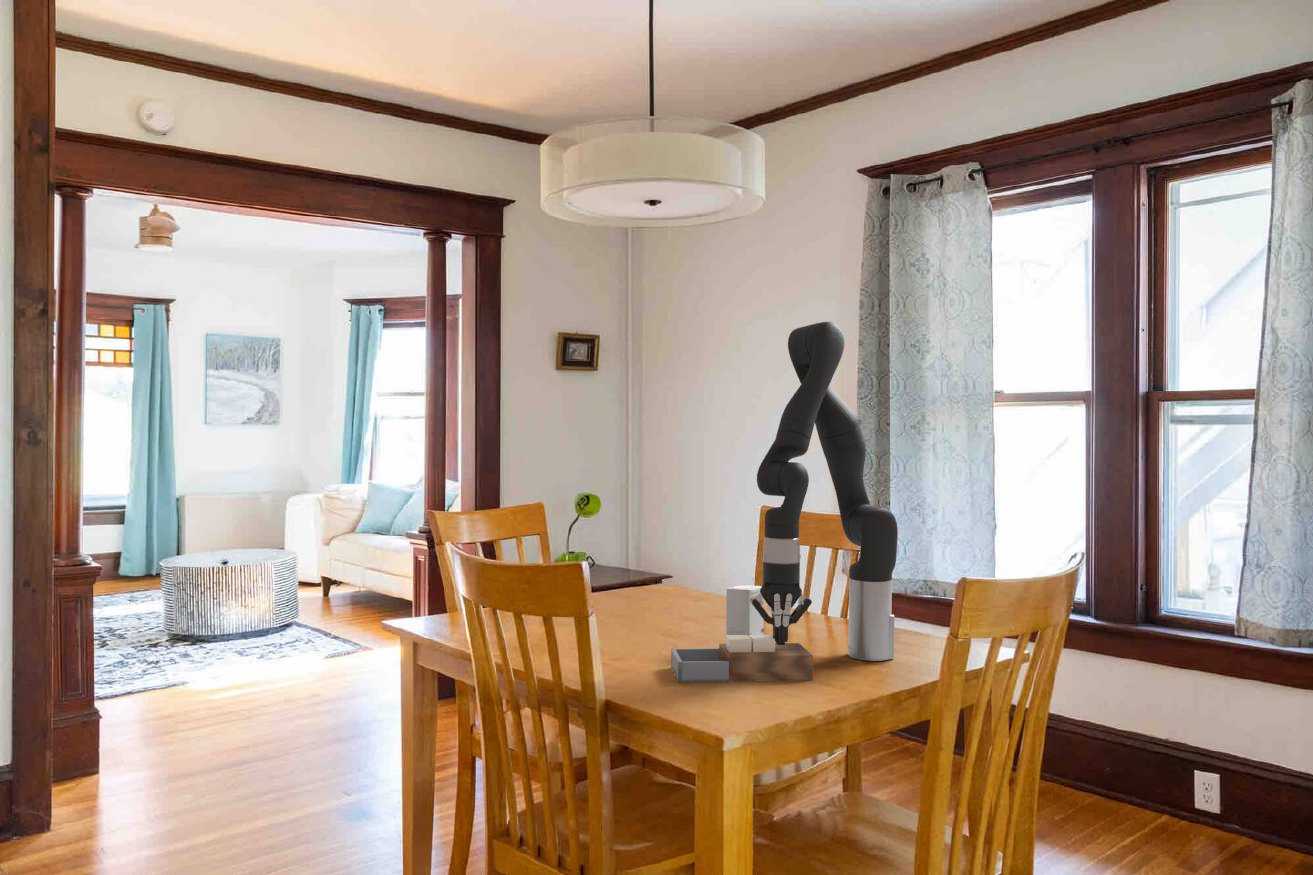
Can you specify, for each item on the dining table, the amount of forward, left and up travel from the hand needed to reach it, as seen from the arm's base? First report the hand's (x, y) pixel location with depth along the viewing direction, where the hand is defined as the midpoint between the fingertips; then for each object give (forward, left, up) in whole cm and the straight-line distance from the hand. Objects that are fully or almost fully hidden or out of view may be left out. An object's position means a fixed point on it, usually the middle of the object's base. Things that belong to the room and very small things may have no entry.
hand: (780, 643), depth 195 cm
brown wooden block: (+3, 0, -6) cm, 7 cm away
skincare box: (+4, -19, -6) cm, 20 cm away
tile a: (+4, 0, -1) cm, 4 cm away
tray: (+17, 0, -6) cm, 18 cm away
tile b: (+9, 0, -1) cm, 9 cm away
